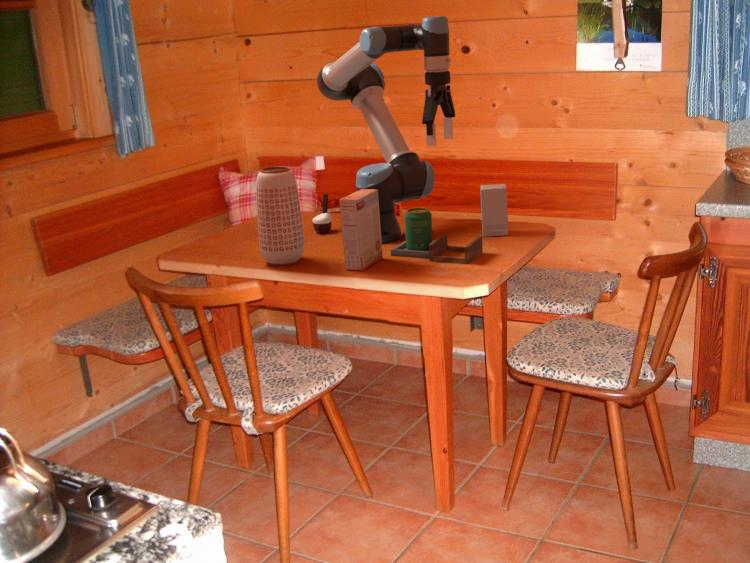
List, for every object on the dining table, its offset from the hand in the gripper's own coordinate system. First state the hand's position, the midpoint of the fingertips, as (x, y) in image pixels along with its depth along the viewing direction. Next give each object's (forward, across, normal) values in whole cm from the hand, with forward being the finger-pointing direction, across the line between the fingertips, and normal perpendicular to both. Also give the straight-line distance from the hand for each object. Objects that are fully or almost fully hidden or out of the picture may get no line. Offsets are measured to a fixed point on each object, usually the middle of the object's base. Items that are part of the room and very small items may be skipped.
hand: (440, 142), depth 261 cm
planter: (+31, -34, +38) cm, 60 cm away
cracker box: (+31, -30, +13) cm, 45 cm away
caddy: (+31, -16, -10) cm, 36 cm away
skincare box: (+31, +11, -13) cm, 35 cm away
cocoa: (+31, +1, +44) cm, 54 cm away
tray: (+31, -14, +2) cm, 34 cm away
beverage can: (+30, -13, +2) cm, 33 cm away
